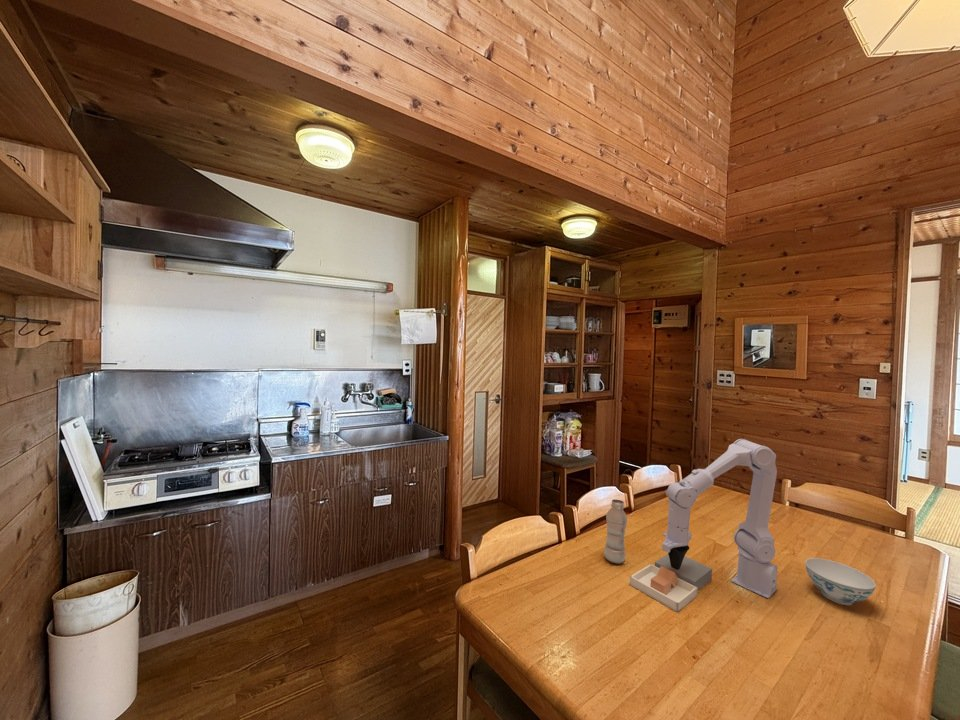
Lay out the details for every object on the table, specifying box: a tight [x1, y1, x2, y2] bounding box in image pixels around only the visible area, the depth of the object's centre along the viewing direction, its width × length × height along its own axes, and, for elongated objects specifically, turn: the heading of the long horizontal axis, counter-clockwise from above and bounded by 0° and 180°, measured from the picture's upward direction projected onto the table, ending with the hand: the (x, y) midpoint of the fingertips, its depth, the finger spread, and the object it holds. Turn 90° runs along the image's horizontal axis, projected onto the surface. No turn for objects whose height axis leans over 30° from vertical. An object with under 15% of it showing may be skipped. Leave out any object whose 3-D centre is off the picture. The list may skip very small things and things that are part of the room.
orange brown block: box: [657, 566, 678, 587], centre depth 112 cm, size 4×4×3 cm
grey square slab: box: [654, 553, 713, 591], centre depth 118 cm, size 12×12×4 cm
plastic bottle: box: [603, 499, 628, 565], centre depth 124 cm, size 6×7×20 cm
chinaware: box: [804, 557, 877, 606], centre depth 111 cm, size 15×15×8 cm
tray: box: [629, 563, 699, 613], centre depth 110 cm, size 14×12×2 cm
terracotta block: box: [650, 575, 671, 595], centre depth 109 cm, size 4×4×3 cm
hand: (675, 567), depth 114 cm, fingers closed
